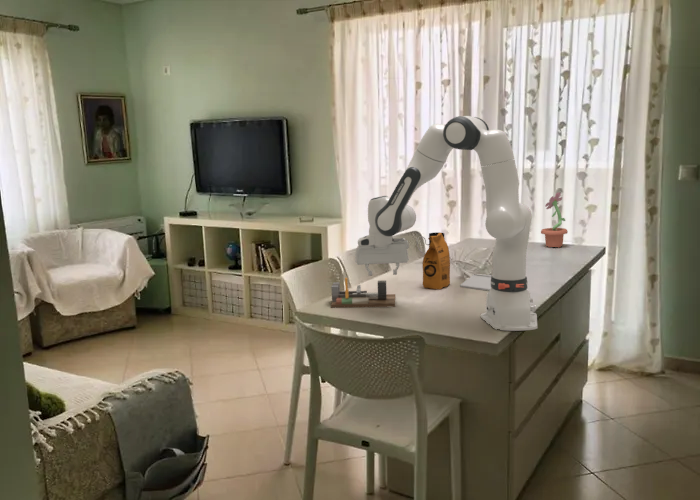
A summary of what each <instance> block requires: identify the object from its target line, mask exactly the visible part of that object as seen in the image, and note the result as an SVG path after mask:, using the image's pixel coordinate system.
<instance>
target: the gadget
mask: <svg viewBox="0 0 700 500" xmlns="http://www.w3.org/2000/svg"><path fill="white" fill-rule="evenodd" d="M491 276H492V274H488V275H486V273H485V274H484V273H482V274H481V273H479V274H477V273H476V274H471V276H469V277H468V278H467V279H465V281H464V282H463V281H462V283H460V285H459V287H460V288H465V289H471V290H473V289H474V290H480V291H484V292H489V291H490V289H491V288H492V287H491Z"/></svg>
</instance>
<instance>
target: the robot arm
mask: <svg viewBox="0 0 700 500" xmlns="http://www.w3.org/2000/svg"><path fill="white" fill-rule="evenodd" d="M454 149H456V150H460V151H461V150H465V151H475V152H476V153H477V156H478V159H479V164H480V169H481V172H482V173H481V174H482V178H483V183H484V189H485V210H486V219H485V225H484V226H485V229H486V232H487V233H488V235H489V236H491V237H492V238H494V239H495V241H494V242H495V243H494V247H493V251H492V255H491V256H492V257H491V265H492V266H491V268H492V270H491V272H492V273H491V275H492V276H491V287H492V288H491V289H490V291H487V293H486V294H485V296H486V297H485V312H483V313H481V314H480V318H481V319H482V320H483V321H484V320H485V321H486V322H485V321H484V322H485V323H487V324H488V325H489V324H490V325H491V326H492V327H493V328H495V329H494V330H497V329H500V330H499V331H508V332H509V331H512V332H515V331H516V332H517V331H519V332H520V331H521V332H522V331H532V330H536V329H538V316H537V315H538V314H537V313H536V304H531V303H533V302H534V298H533V297H532V298H531V292H530V291H529V290H528V285H529V284H528V277H527V276H526V275H527V274H526V273H527V250H528V245H529V237H530V232H531V231H530V230H531V222H532V219H533V215H532V211H531V210H530V208H529V207H528V206H527V205H526V204H524V203H522V202H520V200H519V199H520V198H519V197H520V196H519V187H520V180H519V175H518V170H517V165H516V161H515V156H514V151H513V148H512V145H511V143H510V140H509V138H508V135H507V133H506V132H505V131H504V130H501V129H489V125H488V124H487V122H486V121H484V119H482V118H480V117H476V116H475V117H474V116H471V115H463V116H460V115H459V116H455V117H453V118H451V119H450V120H448V121H447V122H446V124H442V123H434V124H432V125H430V126H429V127H428V128H427V130H426V132H425V133H424V135H423V136H422V137H421V139H420V141H419V143H418V144H417V147H416V149H415V151H414V153H413V156H412V158H411V160H410V162H409V164H408V165H407V167H406V169H405V170H404V173H403V174H402V176H401V178H400V179H399V181H398V183H397V184H396V186H395V188H394V190H393V191H392V194H391V195H390V196H388V195H381V196H377V197H373V198H371V199H370V200H369V201H368V205H367V206H368V207H367V221H368V224H369V228H368V235H364V236H362V237H359V238H358V239H357V248H356V249H355V256H354V257H355V263H356V265H358V266H359V265H361V266H362V265H364V268H365V269H366V271H367V273H368V274H367V275H368V277H370V276H373V270H372V269H370V268H369V265H378V264H380V265H382V264H395V266H396V267H395V268H394V269H393V270H392V275H393V276H396V275H397V274H398V269H399V268H400V265H401V264H403V263H404V264H405V263H408V261H409V253H408V249H409V248H410V244H409V243H410V242H409V241H408V239H406V238H404V237H401V238H398V237H397V238H393V236H395V235H397V234H398V233H402V232H404V231H407V230H409V229H411V228H412V227H413V226H415V224H416V221H417V215H416V211H415V210H414V208H413V207H412V206H410V205H408V203H409V202H410V200H411V198H412V197H413V195H414V193H415V192H416V191H417V190H418V189H419V188H420V187H421V186H423V185H424V184H426V183H429V181H432V180H433V179H435V178H436V177H437V176H438V174H439V173H440V172H441V170H443V166H444V164H445V162H446V161H447V159H448V156H449V155H450V153H451V152H452V150H454ZM490 325H489V326H490ZM491 326H490V327H491ZM492 327H491V328H492Z"/></svg>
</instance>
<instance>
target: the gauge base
mask: <svg viewBox="0 0 700 500" xmlns="http://www.w3.org/2000/svg"><path fill="white" fill-rule="evenodd" d="M340 283H341V282H338V281H337V282H333V283H332V285H331V287H330V288H331V304H330V308H332V309H333V308H334V309H335V307H336V308H337V309H339V308H395V307H396V293H391V294H389V293H387V299H369V297H366V294H352V293H357V292H356V290H349V297H348V298H346V297H345V291H346V290H341V287H340V286H341V285H340ZM367 291H368V290H361V293H368V292H367Z"/></svg>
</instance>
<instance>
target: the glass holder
mask: <svg viewBox="0 0 700 500" xmlns="http://www.w3.org/2000/svg"><path fill="white" fill-rule="evenodd" d="M438 233H439V232H430V233H428V238H429V237H430V236H437V235H438ZM441 233H442V236H443V237H444V239H445V240H446V238H445V233H444V232H441ZM420 238H423V240H424V244H425V245H426V246H429V245H430V243H431V240H429V239H428V243H427V240H426V238H425V236H418V237H417V239H416V241H418V240H419V239H420ZM418 243H419V242H416V246H417V248H418V251H419V252H420V253H422V254H423V256H424V255H425V253H424V252H422V250H421V249H420V247H419V244H418Z"/></svg>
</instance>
